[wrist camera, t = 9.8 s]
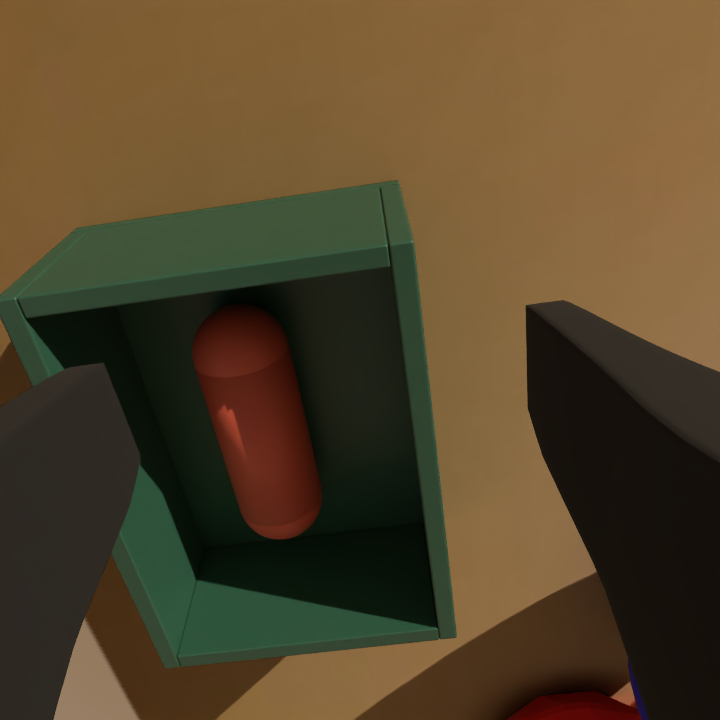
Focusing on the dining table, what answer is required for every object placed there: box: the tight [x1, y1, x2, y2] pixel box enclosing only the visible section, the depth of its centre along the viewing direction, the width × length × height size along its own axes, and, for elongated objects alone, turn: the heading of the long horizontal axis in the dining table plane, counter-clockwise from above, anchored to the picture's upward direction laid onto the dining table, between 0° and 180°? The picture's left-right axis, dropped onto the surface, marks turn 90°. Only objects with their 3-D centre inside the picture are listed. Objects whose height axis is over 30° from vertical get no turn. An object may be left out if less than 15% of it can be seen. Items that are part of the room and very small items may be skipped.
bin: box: [0, 180, 457, 669], centre depth 21 cm, size 10×14×6 cm
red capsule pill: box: [192, 304, 323, 540], centre depth 22 cm, size 9×3×3 cm, turn 8°
